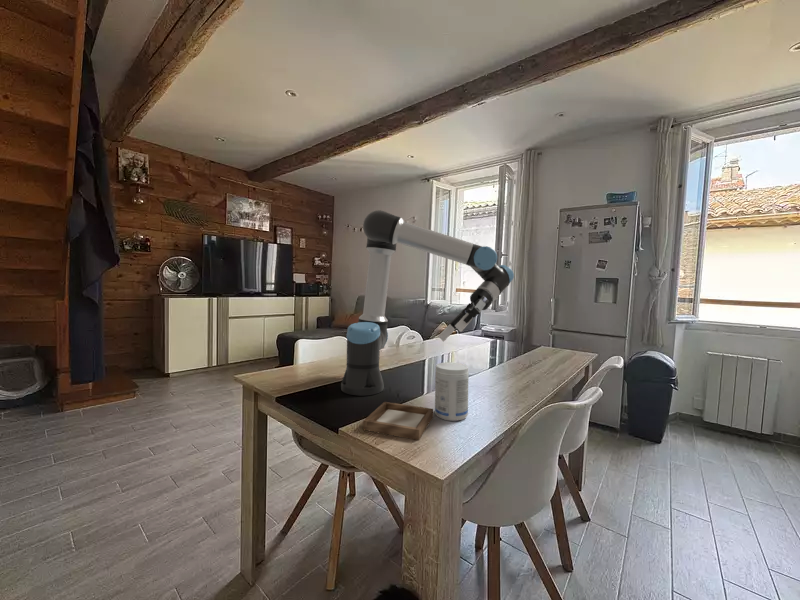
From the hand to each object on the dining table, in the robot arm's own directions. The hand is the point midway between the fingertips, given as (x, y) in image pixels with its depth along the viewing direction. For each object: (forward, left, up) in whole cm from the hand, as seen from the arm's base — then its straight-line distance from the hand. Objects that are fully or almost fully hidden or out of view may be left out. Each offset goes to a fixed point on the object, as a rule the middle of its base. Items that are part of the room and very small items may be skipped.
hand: (449, 334), depth 111 cm
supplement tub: (+4, -15, -22) cm, 27 cm away
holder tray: (-8, -26, -22) cm, 35 cm away
